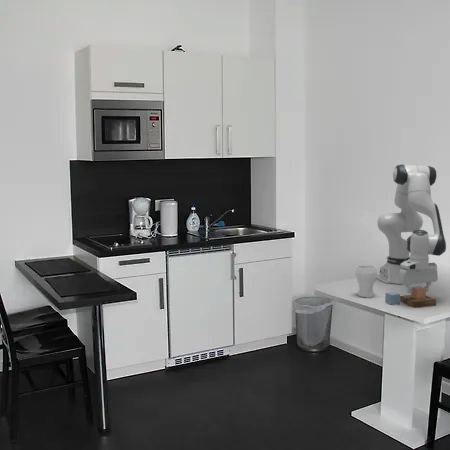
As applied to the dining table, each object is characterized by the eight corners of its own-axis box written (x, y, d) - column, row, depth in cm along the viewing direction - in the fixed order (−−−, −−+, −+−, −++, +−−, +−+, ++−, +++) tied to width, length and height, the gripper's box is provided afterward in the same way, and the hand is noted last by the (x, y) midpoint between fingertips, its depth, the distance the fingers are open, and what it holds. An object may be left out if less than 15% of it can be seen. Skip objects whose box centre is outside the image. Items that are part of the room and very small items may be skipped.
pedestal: (400, 301, 306) (400, 295, 305) (420, 299, 309) (420, 293, 309) (414, 307, 294) (415, 301, 294) (436, 305, 298) (436, 299, 298)
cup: (373, 299, 312) (373, 269, 310) (352, 296, 317) (353, 267, 315) (378, 294, 321) (379, 265, 319) (358, 292, 326) (359, 264, 324)
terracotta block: (410, 296, 303) (410, 286, 302) (419, 295, 305) (419, 286, 304) (416, 299, 298) (417, 289, 298) (425, 298, 300) (426, 288, 299)
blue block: (385, 302, 305) (385, 292, 304) (394, 301, 306) (394, 291, 306) (391, 305, 300) (391, 295, 299) (399, 304, 302) (400, 294, 301)
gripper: (432, 261, 306) (431, 288, 307) (397, 264, 299) (396, 292, 301) (441, 263, 300) (440, 291, 302) (405, 266, 293) (404, 295, 295)
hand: (418, 291), depth 301 cm, fingers open, 8 cm apart
